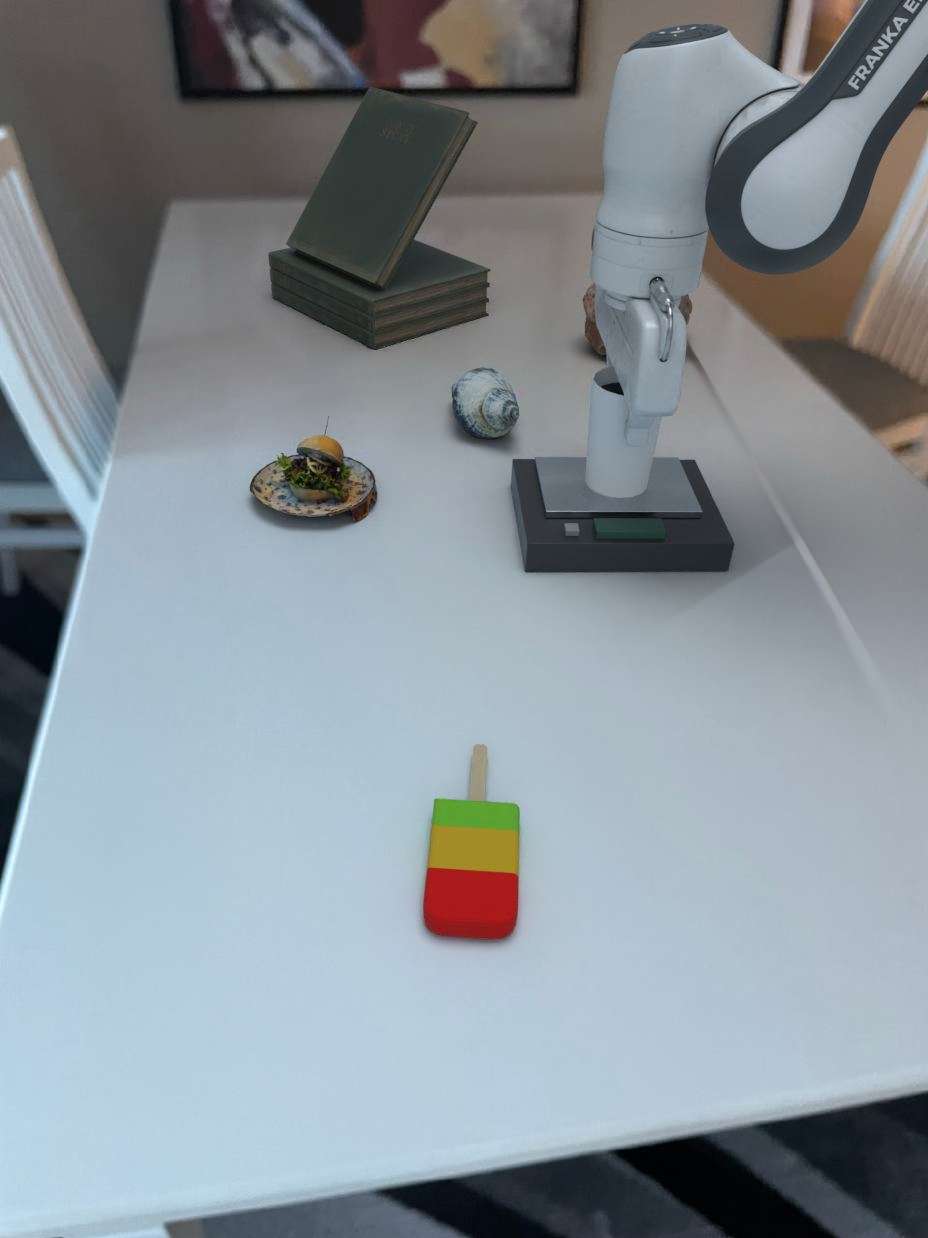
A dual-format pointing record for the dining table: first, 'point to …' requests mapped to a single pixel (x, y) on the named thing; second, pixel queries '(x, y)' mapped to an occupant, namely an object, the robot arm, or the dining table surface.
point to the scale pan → (576, 500)
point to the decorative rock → (590, 322)
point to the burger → (316, 481)
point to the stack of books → (382, 229)
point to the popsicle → (473, 863)
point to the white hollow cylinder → (615, 442)
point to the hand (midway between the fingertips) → (625, 417)
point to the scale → (618, 534)
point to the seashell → (485, 403)
